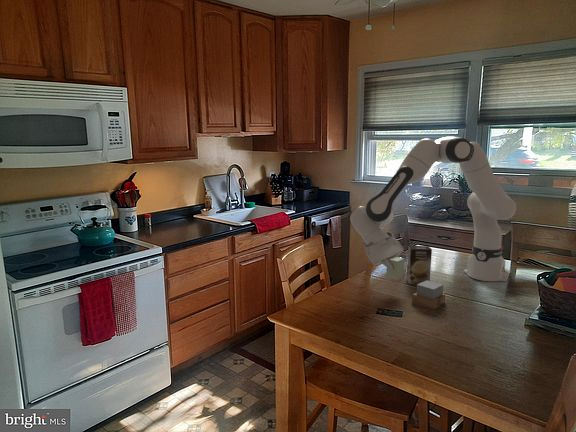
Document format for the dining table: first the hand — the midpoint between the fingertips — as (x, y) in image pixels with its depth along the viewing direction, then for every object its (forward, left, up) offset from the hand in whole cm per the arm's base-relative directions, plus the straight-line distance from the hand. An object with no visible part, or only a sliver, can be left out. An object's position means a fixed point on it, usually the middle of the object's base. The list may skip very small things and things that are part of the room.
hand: (396, 267), depth 168 cm
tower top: (0, +15, -8) cm, 17 cm away
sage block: (0, -1, -4) cm, 4 cm away
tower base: (0, +14, -12) cm, 19 cm away
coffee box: (-19, 0, -12) cm, 22 cm away
